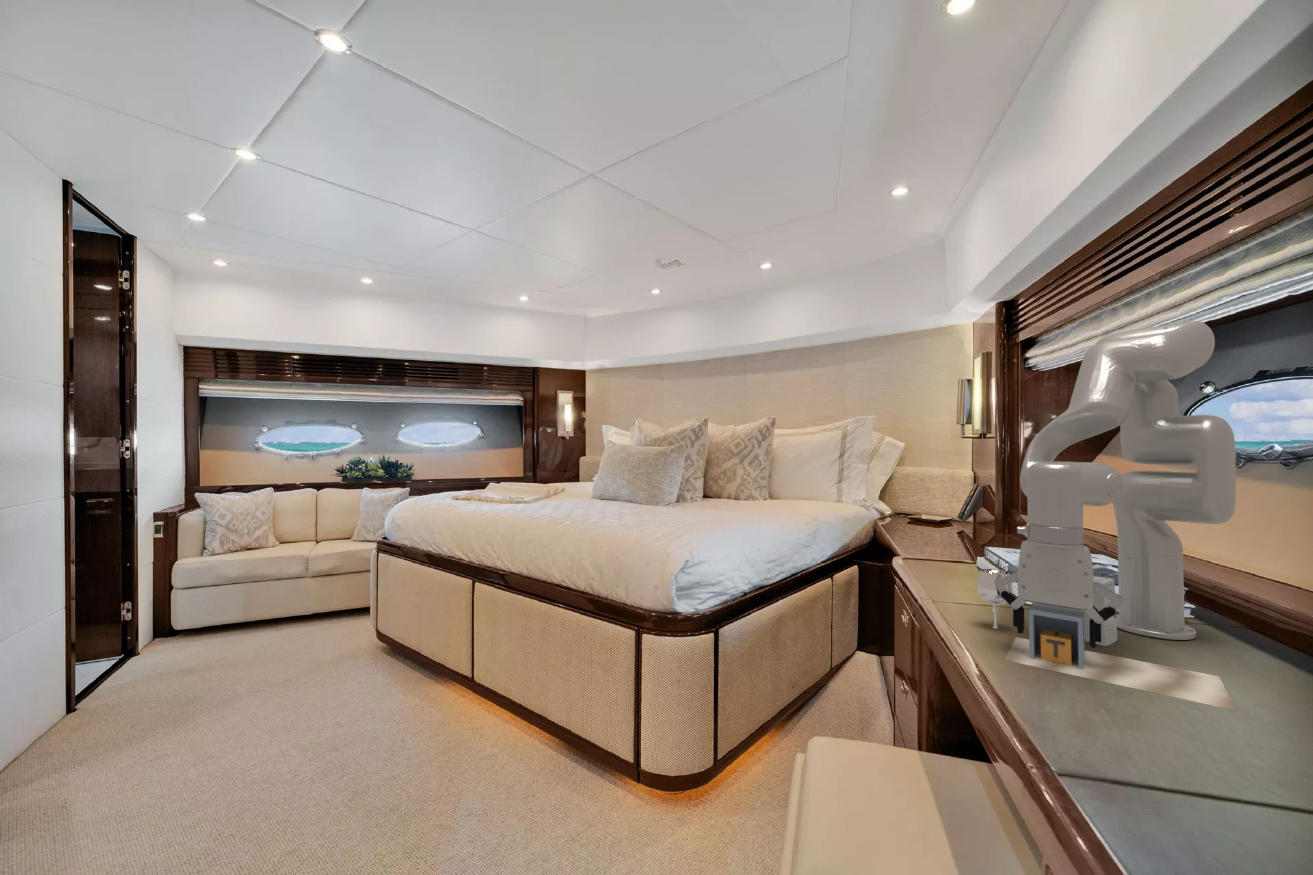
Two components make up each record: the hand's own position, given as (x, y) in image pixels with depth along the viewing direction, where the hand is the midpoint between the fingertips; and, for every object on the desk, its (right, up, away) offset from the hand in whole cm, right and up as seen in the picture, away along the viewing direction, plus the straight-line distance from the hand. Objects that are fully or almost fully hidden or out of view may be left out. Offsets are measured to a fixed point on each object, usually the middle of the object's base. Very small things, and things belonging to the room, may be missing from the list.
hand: (1055, 638), depth 88 cm
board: (+5, -4, -4) cm, 8 cm away
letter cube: (0, -3, 0) cm, 3 cm away
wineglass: (-1, -5, +15) cm, 16 cm away
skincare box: (+14, -5, +9) cm, 17 cm away
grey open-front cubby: (0, -3, 0) cm, 3 cm away
